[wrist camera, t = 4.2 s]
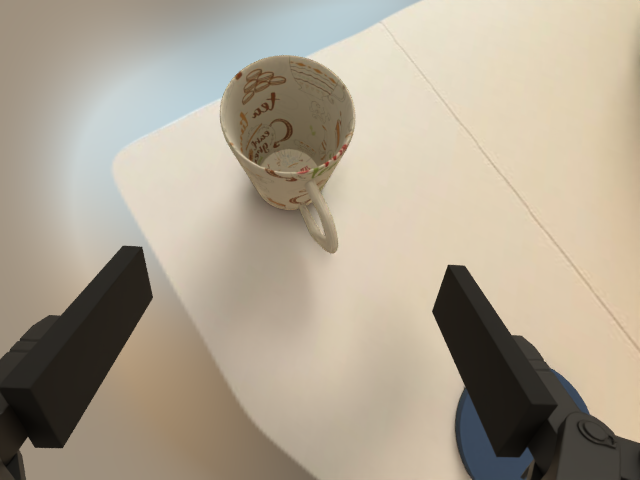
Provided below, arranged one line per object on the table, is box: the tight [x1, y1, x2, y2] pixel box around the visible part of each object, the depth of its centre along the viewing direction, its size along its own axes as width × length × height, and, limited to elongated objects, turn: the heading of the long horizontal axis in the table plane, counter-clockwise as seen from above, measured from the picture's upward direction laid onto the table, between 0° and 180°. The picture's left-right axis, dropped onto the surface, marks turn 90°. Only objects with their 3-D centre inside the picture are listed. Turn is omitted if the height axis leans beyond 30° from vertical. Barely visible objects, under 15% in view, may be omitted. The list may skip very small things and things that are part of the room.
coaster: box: [456, 368, 590, 480], centre depth 27 cm, size 11×11×1 cm
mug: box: [220, 55, 355, 253], centre depth 25 cm, size 8×13×10 cm, turn 27°
